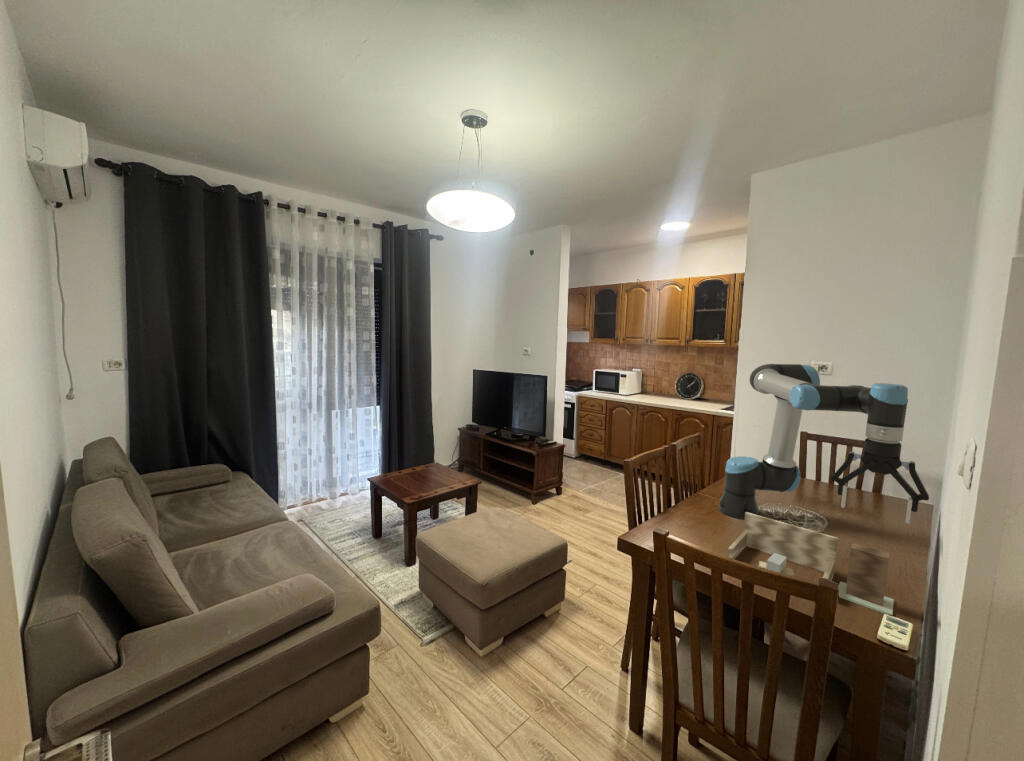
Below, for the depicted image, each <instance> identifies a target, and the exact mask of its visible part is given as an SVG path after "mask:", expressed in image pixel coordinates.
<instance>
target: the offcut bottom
mask: <svg viewBox="0 0 1024 761" xmlns="http://www.w3.org/2000/svg"><path fill="white" fill-rule="evenodd" d="M766 566H767V561H762V560H758V568H759V567H761V568H765V569H766ZM781 573H785V574H788V575H793V576H794V577H795V574H794V569H793V568H791V567H787V566H786V567H785V568H784V569H783V570H782V572H781Z"/></svg>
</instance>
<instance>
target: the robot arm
mask: <svg viewBox="0 0 1024 761" xmlns="http://www.w3.org/2000/svg"><path fill="white" fill-rule="evenodd" d="M750 373H751V374H750V375H749V384H750V386H751V388H752V389H754V390H755V391H756V392H758V393H761V394H764V395H773V397H774V398H775V399H776V400H777V402H776V406H775V407H776V408H775V413H774V420H773V425H772V429H771V430H772V431H771V436H770V440H769V447H768V451H767V452H768V453H766V454H764V455H763V456H762V461H759V460H758V459H757V458H755V457H751V456H742V455H741V456H733V457H730V458H729V459H728V460H727V461H726V463H725V464H726V465H725V468H724V470H725V474H724V476H725V477H724V487H723V489H724V490H723V493H722V495H721V497H720V500H719V501H718V508H717V509H718V510H719V512H721V513H722V514H724V515H726V516H729V517H731V518H736V519H740V520H745V513H746V512H748V513H752V514H755V515H759V516H760V510H759V507H758V503H757V500H756V499H757V498H756V491H766V492H767V491H769V492H779V493H784V492H785V493H787V492H788V493H790V492H794V491H795V490H796V489H797V488H799V485H800V483H801V477H802V476H801V470H800V468H799V466H798V465H797V462H796V461H795V460H794V454H795V448H796V446H797V445H796V444H797V439H798V434H799V429H800V425H801V419H802V413H803V411H826V412H827V411H830V412H831V411H832V412H848V413H850V412H852V413H853V412H854V413H861V414H866V415H867V420H866V429H865V437H866V438H865V439H864V444H863V445H864V446H863V452H862V454H861V453H860V454H859V453H856V452H855V451H853V450H852V451H850V452H849V453H848V454H847V455H848V456H847V459H846V460H845V461H844V462H843V463H842V464H841V466H839V467H838V468H837V470H836V471H835V473H833V475H832V476H831V477H830V480H831V481H833V482H835V483H837V494H838V495H839V496H841V502H840V508H842V509H844V508H845V507H846V501H847V495H848V494H847V493H848V485H849V484H848V482H849V481H852V480H853V479H854V478H856V477H858V476H859V475H861V474H862V473H864V472H866V471H869V472H871V473H873V474H874V473H876V474H881V475H885V476H886V475H891V476H892V478H893V479H894V480H896V482H897V483H898V484H899V485H900V486H901V487H902V488H903V490H904V491H905V492H906V493H907V494H908V495H909V496H908V499H907V500H908V501H907V506H906V514H905V524H907V525H910V522H911V514H912V512H913V513H917V512H918V508H919V503H920V501H929V500H930V496H929V493H928V492H927V490H926V487H925V486H924V483H923V482H922V480H921V478H920V476H919V473H918V472H917V470H916V462H915V461H914V460H913V461H912V460H910V461H902V460H901V452H902V444H901V442H902V441H903V439H904V438H903V437H904V429H905V422H906V421H905V420H906V415H907V414H906V413H907V408H908V402H909V399H908V397H909V394H908V393H909V389H908V387H907V386H905V385H903V384H895V383H886V382H885V383H884V382H882V383H881V382H880V383H878V382H877V383H873V384H871V387H866V386H864V385H858V384H857V385H856V384H851V385H843V386H841V385H822V384H821V380H820V375H819V372H818V370H817V369H816V368H814V366H812V365H809V364H800V363H797V364H796V363H795V364H791V363H787V364H786V363H781V364H780V363H766V364H762V365H760V366H757V367H756V368H754V369H753V371H752V372H750ZM858 459H859V460H861V462H862V463H863V464H862V465H860V466H859V467H857V468H855V469H854V470H852V471H851V472H850V473H848V474H846V475H844V476H843V477H842V478H841V477H840V476H842V474H844V472H845V471H846V470H847V468H848V467H849V466H850V465H852V462H853V461H854V462H855V461H857V460H858ZM901 467H903V468H904V469H905V470H906V471H908V472H909V475H910V476H911V479H912V481H913V482H914V485H915V487H916V489H917V491H918V493H917V492H916V490H915V489H914V488H913V487H912V486H911V485H910V483H909V482H908V481H907V480H906V479H905V478H904V477H903V476H902V475H901V474H900V472H899V471H898V470H899V468H901Z"/></svg>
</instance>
